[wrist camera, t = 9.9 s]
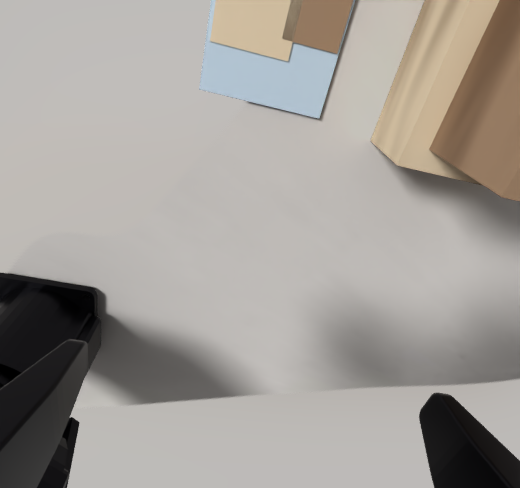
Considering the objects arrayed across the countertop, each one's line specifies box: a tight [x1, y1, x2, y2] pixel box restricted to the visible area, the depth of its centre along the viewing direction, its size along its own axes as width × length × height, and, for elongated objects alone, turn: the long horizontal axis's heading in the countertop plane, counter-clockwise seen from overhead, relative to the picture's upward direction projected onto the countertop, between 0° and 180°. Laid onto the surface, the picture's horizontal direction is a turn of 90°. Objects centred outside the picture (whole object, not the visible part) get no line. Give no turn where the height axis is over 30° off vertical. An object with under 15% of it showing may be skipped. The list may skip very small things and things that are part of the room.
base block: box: [371, 0, 499, 186], centre depth 15 cm, size 8×8×4 cm
